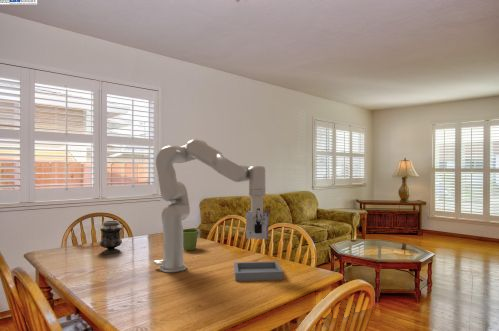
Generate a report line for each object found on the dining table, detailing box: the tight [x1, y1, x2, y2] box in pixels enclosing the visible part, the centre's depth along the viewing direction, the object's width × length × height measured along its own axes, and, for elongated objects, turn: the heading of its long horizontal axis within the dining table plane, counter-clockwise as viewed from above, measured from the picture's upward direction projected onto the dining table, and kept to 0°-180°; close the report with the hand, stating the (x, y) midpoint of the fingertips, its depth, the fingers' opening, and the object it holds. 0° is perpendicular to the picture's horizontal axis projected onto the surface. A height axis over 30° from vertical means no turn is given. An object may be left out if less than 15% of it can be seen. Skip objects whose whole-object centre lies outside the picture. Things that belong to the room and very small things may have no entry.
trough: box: [233, 260, 284, 282], centre depth 154 cm, size 21×16×4 cm
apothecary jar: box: [99, 220, 123, 255], centre depth 195 cm, size 12×12×18 cm
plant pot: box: [183, 228, 200, 251], centre depth 201 cm, size 12×12×11 cm
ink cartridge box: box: [245, 210, 269, 240], centre depth 154 cm, size 10×6×14 cm, turn 79°
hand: (257, 231), depth 154 cm, fingers closed on ink cartridge box, 6 cm apart
